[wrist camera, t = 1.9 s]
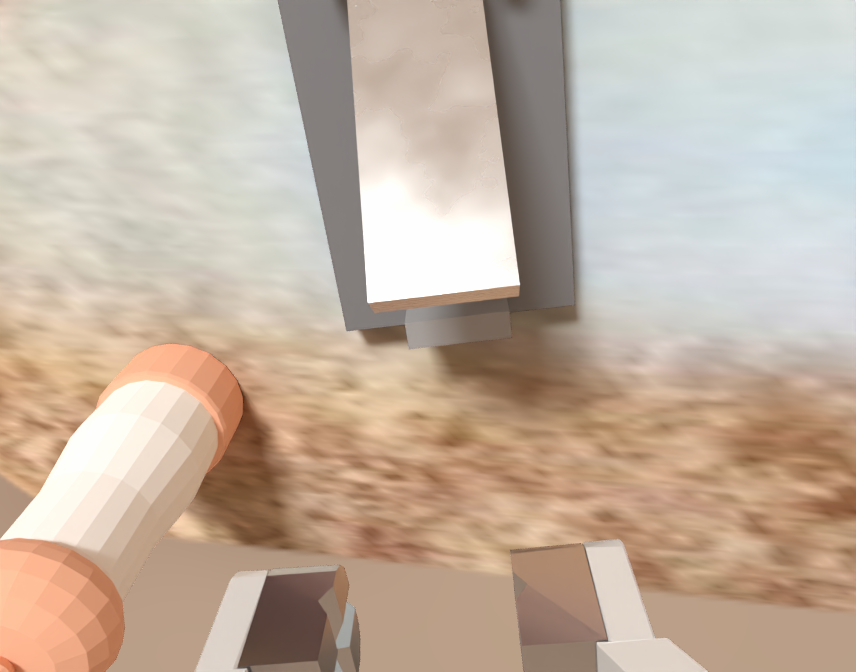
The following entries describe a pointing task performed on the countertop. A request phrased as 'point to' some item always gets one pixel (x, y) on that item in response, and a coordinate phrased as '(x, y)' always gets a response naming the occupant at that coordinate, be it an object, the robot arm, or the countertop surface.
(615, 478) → the countertop surface
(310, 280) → the countertop surface
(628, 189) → the countertop surface
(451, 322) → the clamp board
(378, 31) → the clamp lever
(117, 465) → the pepper shaker
